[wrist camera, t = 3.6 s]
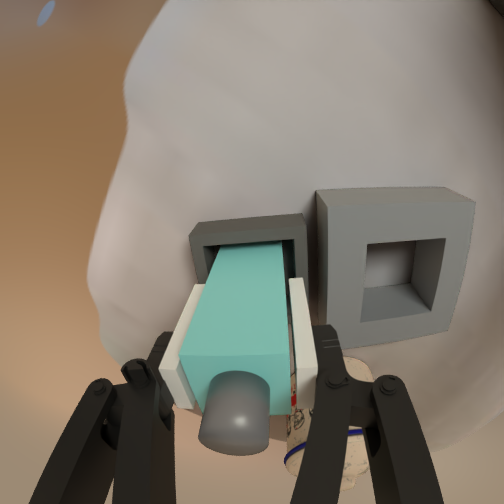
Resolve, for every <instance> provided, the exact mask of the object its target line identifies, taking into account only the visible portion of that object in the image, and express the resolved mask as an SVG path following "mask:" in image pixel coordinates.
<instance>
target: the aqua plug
mask: <svg viewBox="0 0 504 504" xmlns="http://www.w3.org/2000/svg"><path fill="white" fill-rule="evenodd" d="M178 356H179V358H180V361H181V364H182V366H183V369H184V371H185V374H186V376H187V379H188V381H189V384H190V386H191V389H192V391H193V393H194V396H195V398H196V400H197V403H198V405H199V407H200V409H201V412H202V414H203V417H202V421H201V426H200V430H199V435H198V439H199V441H200V442H201V443H202V444H203V445H204V446H206V447H207V448H209V449H211V450H213V451H216V452H219V453H223V454H227V455H236V456H245V455H253V454H257V453H260V452H262V451H264V450H265V449H266V448H267V447H268V443H269V415H288V414H291V382H290V355H289V337H288V321H287V306H286V292H285V278H284V265H283V253H282V241H281V240H273V241H261V242H248V243H235V244H223V245H221V247H220V249H219V252H218V254H217V256H216V259H215V261H214V264H213V266H212V269H211V271H210V274H209V276H208V279H207V281H206V284H205V286H204V289H203V292H202V294H201V297H200V299H199V302H198V304H197V307H196V309H195V312H194V315H193V317H192V320H191V322H190V325H189V328H188V330H187V333H186V336H185V338H184V341H183V344H182V346H181V349H180V352H179V354H178Z"/></svg>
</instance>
